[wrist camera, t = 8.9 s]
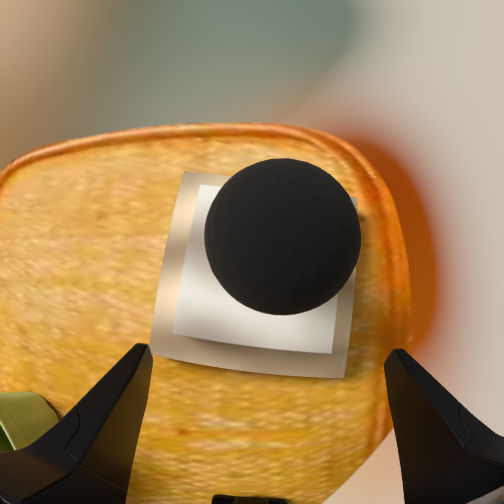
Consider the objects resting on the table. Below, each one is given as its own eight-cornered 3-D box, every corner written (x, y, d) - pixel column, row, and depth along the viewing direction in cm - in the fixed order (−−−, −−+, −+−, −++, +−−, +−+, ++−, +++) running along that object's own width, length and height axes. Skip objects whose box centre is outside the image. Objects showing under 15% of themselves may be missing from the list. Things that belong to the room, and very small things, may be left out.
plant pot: (88, 468, 16) (43, 508, 8) (24, 448, 15) (-23, 470, 7) (64, 381, 18) (1, 398, 10) (4, 370, 18) (-53, 376, 9)
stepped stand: (334, 373, 20) (354, 383, 16) (156, 350, 20) (139, 357, 16) (348, 206, 23) (367, 187, 19) (188, 182, 23) (179, 157, 19)
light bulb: (291, 213, 18) (341, 115, 9) (322, 297, 17) (416, 271, 7) (205, 239, 18) (173, 150, 8) (234, 328, 16) (230, 345, 7)
